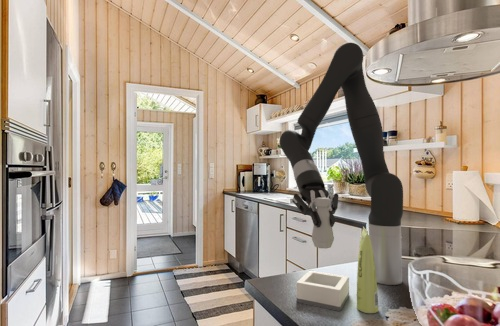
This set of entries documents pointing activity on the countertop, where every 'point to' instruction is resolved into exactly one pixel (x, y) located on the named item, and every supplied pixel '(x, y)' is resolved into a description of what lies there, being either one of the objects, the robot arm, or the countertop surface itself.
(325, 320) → the countertop surface
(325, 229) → the salt shaker
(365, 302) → the tube
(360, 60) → the robot arm
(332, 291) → the socket dock
